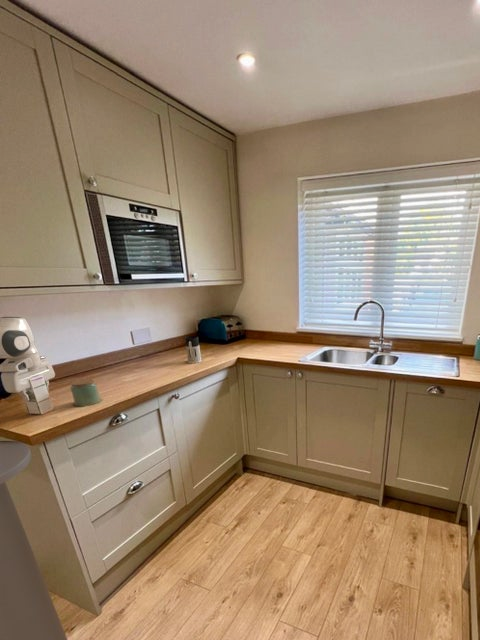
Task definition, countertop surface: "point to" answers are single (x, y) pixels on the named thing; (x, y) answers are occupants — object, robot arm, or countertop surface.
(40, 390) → the syrup box
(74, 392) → the green lidded jar
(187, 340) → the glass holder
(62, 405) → the countertop surface
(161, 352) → the countertop surface
